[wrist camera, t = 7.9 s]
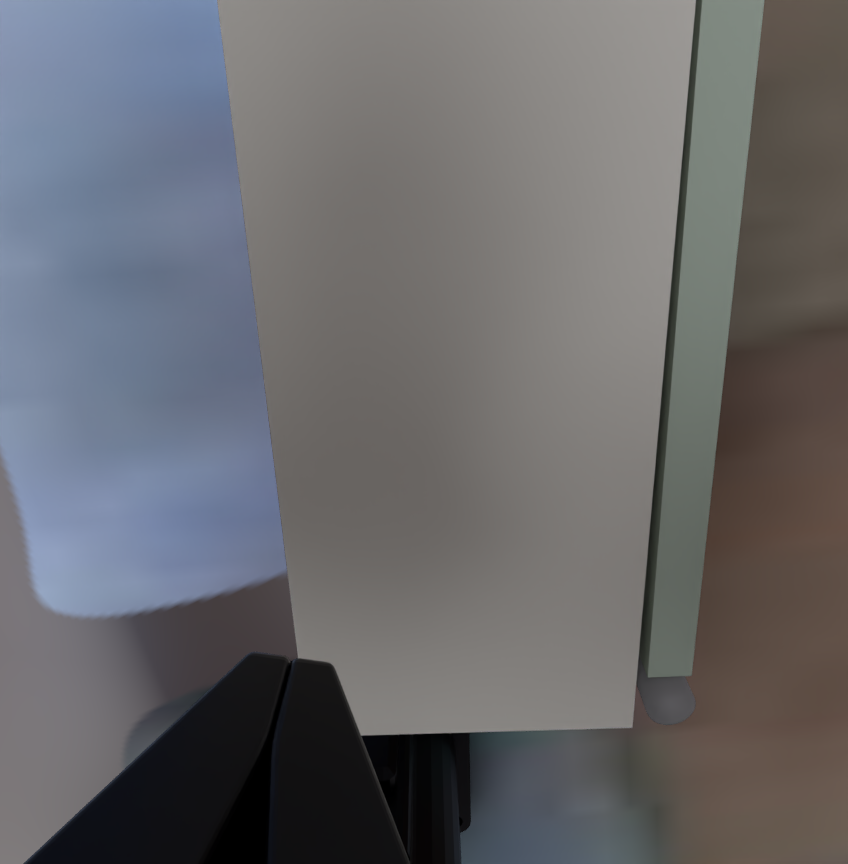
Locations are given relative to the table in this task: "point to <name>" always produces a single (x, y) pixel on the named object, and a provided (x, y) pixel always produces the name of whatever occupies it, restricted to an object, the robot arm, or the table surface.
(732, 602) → the table surface
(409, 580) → the cabinet
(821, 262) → the table surface
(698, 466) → the door
